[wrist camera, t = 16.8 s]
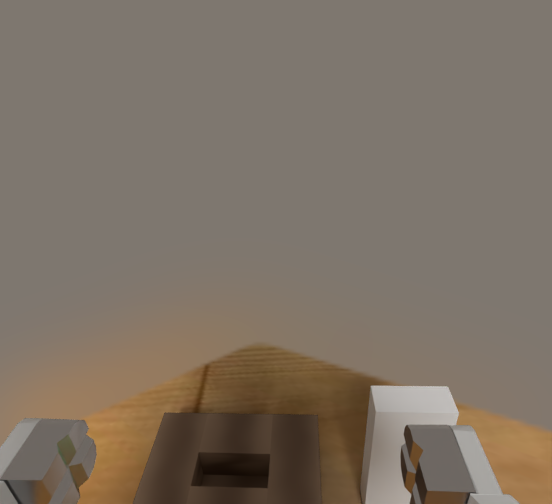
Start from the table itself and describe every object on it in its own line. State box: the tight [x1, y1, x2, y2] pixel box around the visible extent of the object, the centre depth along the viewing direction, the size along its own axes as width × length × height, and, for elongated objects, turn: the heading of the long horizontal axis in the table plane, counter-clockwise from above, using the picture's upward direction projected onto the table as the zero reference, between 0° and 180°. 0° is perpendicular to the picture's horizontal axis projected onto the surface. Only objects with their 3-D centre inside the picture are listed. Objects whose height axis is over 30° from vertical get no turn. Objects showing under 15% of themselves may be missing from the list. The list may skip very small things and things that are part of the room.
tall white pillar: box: [360, 386, 459, 504], centre depth 34 cm, size 6×2×14 cm, turn 87°
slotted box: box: [133, 413, 322, 504], centre depth 37 cm, size 16×12×4 cm
